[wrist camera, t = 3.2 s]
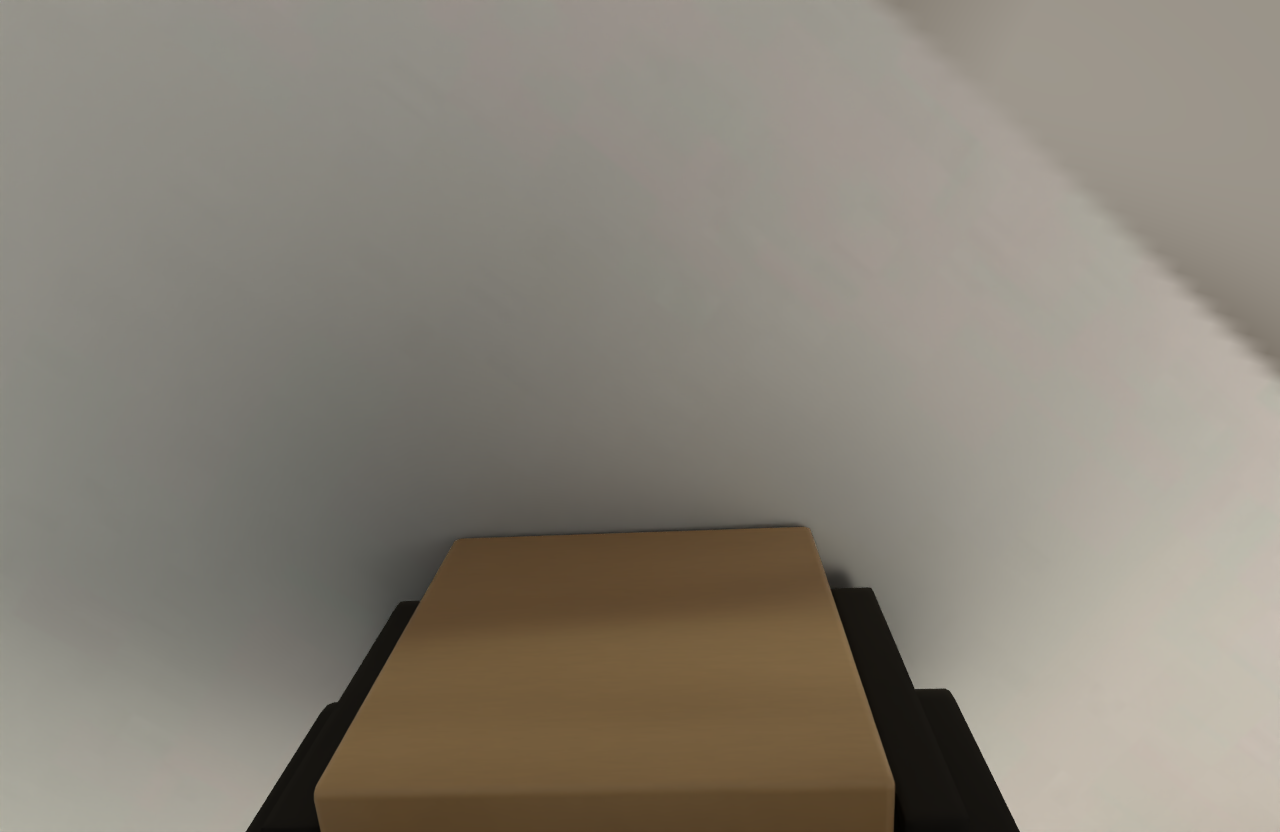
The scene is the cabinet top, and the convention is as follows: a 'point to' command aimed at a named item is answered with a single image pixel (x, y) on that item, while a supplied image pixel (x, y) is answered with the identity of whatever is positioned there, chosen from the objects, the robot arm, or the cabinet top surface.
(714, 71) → the cabinet top surface
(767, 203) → the cabinet top surface
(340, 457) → the cabinet top surface
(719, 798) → the letter u block
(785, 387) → the cabinet top surface
